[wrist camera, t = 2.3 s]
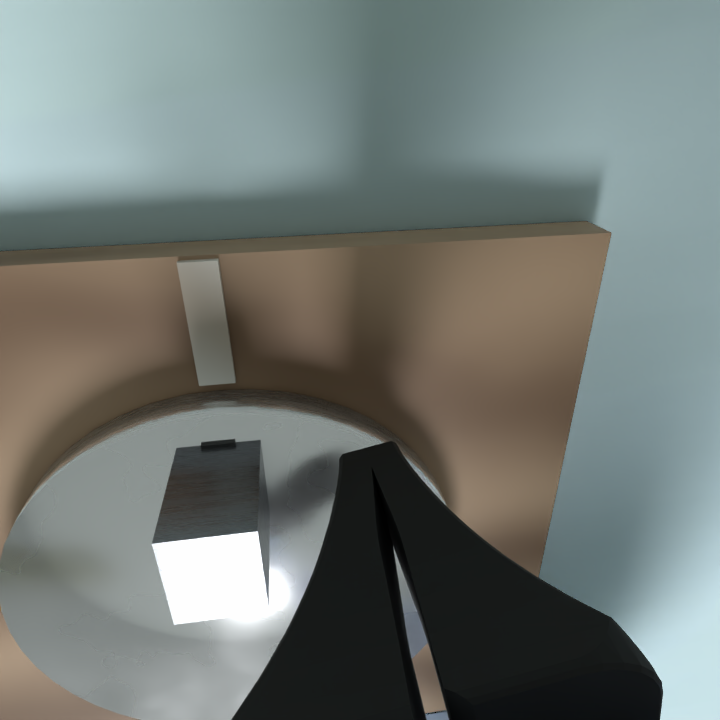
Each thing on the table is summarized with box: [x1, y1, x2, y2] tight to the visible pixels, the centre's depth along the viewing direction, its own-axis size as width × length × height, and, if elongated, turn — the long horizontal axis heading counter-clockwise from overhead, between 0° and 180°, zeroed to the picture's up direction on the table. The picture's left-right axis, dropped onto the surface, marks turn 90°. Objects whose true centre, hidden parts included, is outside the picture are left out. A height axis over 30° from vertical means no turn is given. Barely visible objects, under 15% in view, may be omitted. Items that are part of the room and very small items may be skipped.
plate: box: [0, 221, 611, 720], centre depth 17 cm, size 20×20×1 cm
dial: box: [0, 389, 447, 720], centre depth 15 cm, size 13×13×4 cm
